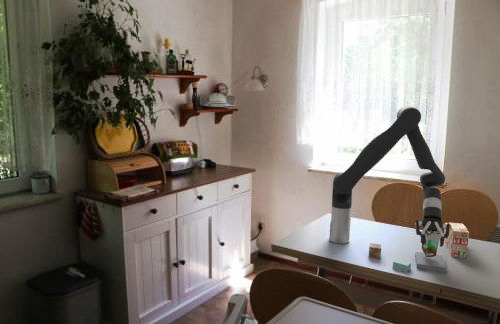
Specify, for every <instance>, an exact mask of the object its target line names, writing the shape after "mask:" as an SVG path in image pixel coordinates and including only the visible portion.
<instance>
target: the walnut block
mask: <svg viewBox="0 0 500 324" xmlns="http://www.w3.org/2000/svg"><path fill="white" fill-rule="evenodd" d="M381 255H382V244H380V243H371V242H370V243H369V248H368V258H369V259H376V260H381V257H382V256H381Z"/></svg>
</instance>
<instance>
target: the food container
mask: <svg viewBox="0 0 500 324" xmlns="http://www.w3.org/2000/svg"><path fill="white" fill-rule="evenodd" d="M423 229H424V226H423V225H422V229H421V230H422V231H423ZM424 235H425V243H424V245H422V244H421V251H422V253H424V254H425V256H426V257H434V256H436V254H437V253H438V248H439V244H440V238H441V233H440V231H439V230H437V231H433V230H426V231H425V234H424ZM437 255H438V254H437Z"/></svg>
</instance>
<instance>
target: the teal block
mask: <svg viewBox="0 0 500 324" xmlns="http://www.w3.org/2000/svg"><path fill="white" fill-rule="evenodd" d="M411 268H412V262H410V261H405V260H403V259H398V258H395V260H393V262H392V269H395V270H398V271H402V272H406V273H409V271H410V270H411Z"/></svg>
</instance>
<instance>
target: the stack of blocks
mask: <svg viewBox="0 0 500 324" xmlns="http://www.w3.org/2000/svg"><path fill="white" fill-rule="evenodd" d="M448 223H449V224H450V229H449V236H448V238H444V244H445V246H446V249H447V250H448V253H449V255H450V257H454V258H463V259H466V258H467V253H468V245H469V238H470V232H469V229H468V228H467V226H466V225H464V223H459V222H444V224H448ZM443 229H444V228H443ZM443 231H444V232H443V234H445V232H446V229H444V230H443Z"/></svg>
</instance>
